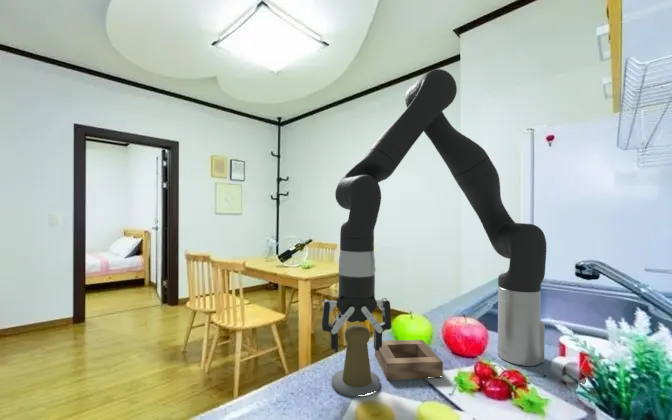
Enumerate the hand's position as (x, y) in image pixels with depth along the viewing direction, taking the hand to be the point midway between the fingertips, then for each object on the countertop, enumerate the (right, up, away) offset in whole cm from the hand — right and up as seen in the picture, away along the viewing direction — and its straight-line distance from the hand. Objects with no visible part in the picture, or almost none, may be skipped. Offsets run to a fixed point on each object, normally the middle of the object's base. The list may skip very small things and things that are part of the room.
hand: (356, 350), depth 68 cm
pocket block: (+12, -7, +8) cm, 16 cm away
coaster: (0, -7, 0) cm, 7 cm away
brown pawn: (0, -6, 0) cm, 6 cm away
